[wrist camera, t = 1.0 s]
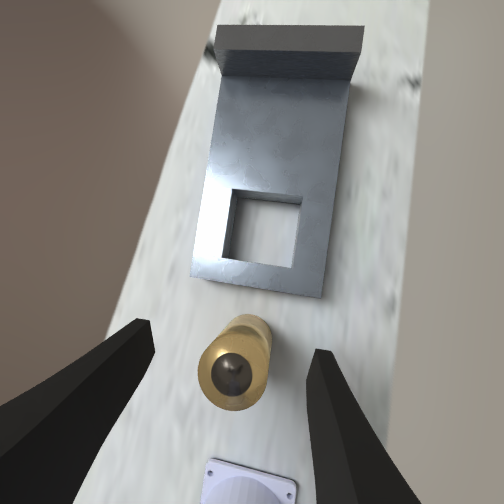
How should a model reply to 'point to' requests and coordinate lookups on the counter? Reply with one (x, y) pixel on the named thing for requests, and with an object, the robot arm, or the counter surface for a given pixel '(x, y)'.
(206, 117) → the counter surface
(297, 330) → the counter surface
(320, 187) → the plate
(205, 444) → the counter surface
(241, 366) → the bushing
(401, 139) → the counter surface
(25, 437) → the robot arm
